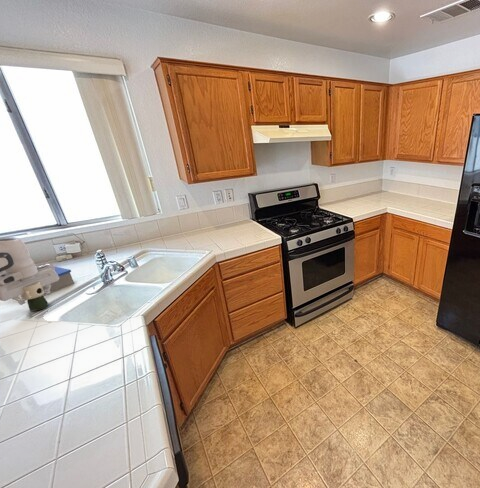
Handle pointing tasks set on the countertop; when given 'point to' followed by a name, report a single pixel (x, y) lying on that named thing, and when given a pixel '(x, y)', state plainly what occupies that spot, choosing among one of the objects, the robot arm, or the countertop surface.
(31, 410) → the countertop surface
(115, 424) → the countertop surface
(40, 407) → the countertop surface
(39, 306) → the character mug
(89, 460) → the countertop surface
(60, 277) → the storage tub
